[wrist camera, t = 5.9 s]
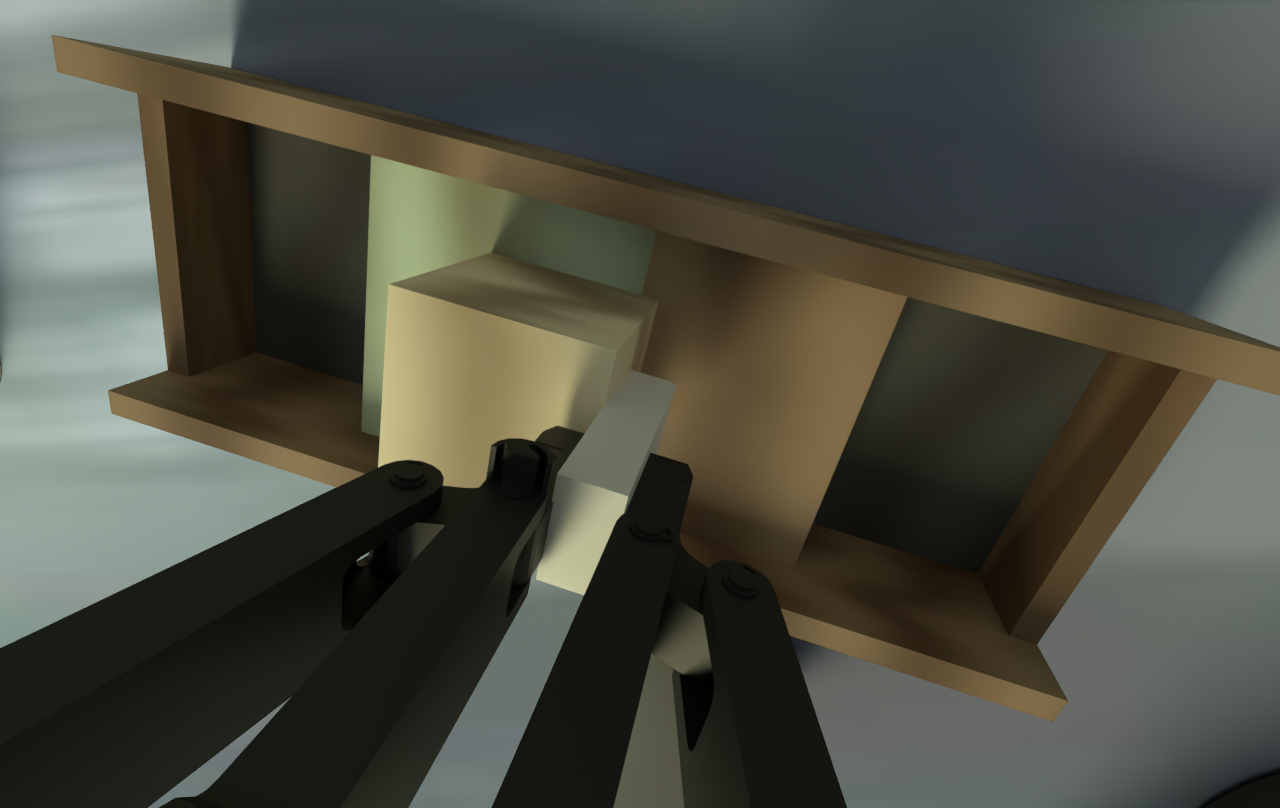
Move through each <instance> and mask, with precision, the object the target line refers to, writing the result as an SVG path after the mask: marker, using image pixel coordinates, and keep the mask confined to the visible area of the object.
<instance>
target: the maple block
mask: <svg viewBox="0 0 1280 808" xmlns="http://www.w3.org/2000/svg"><path fill="white" fill-rule="evenodd" d="M658 302H659V300H658V299H655V298H651V297H647V296H644V295H640V294H637V293H633V292H630V291H626V290H623V289H619V288H616V287H612V286H609V285H605V284H601V283H598V282H594V281H591V280H587V279H584V278H580V277H577V276H573V275H570V274H566V273H562V272H559V271H555V270H552V269H548V268H545V267H541V266H538V265H534V264H531V263H527V262H523V261H520V260H516V259H513V258H509V257H506V256H502V255H499V254H495V253H492V252H491V253H487V254H484V255H481V256H478V257H474V258H471V259H468V260H465V261H462V262H458V263H455V264H452V265H449V266H446V267H442V268H439V269H436V270H433V271H429V272H426V273H423V274H420V275H417V276H413V277H410V278H407V279H404V280H400V281H397V282H394V283H391V284H388V301H387V318H386V336H385V354H384V371H383V389H382V407H381V424H380V442H379V460H378V467H380V466H382V465H385V464H388V463H391V462H394V461H402V460H415V461H422V462H425V463H428V464H431V465H433V466H435V467H436V468H437V469H439V470H440V471H441V473H442V475H443V477H444V482H443V486H452V487H462V488H479V487H480V486H481V485H482V484H483V482H484V481H485V480H486V477H487V470H488V463H489V456H490V449H491V445H492V444H494V443H496V442H497V441H500V440H504V439H509V438H522V439H526V440H531V441H535V440H536V439H537V438H538V437H539V435H540V434H541V433H542V432H543V431H545V430H547V429H550V428H552V427H555V426H557V425H558V426H561V427H565V428H568V429H571V430H574V431H577V432H581V433H584V434H585V433H586V431H587V430H588V428H589V427H590V425H591V424H592V422H593V421H594V420H595V418H596V417H597V415H598V414H599V412H600V411H601V409H602V408H603V407H604V406H605V405H606V403H607V402H608V400H609V399H610V397H611V396H612V395H613V393H614V392H615V390H616V389H617V387H618V386H619V384H620V383H621V381H622V380H623V378H624V377H625V375H626V374H627V372H628V371H629V369H630V370H634V371H637V372H640V373H641V370H642V366H643V362H644V358H645V354H646V350H647V346H648V342H649V338H650V334H651V330H652V326H653V322H654V318H655V314H656V310H657V306H658Z"/></svg>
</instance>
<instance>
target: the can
mask: <svg viewBox="0 0 1280 808" xmlns="http://www.w3.org/2000/svg"><path fill="white" fill-rule="evenodd" d="M672 674H673V668H672V667H671V666H669V665H668V664H666V663H665V662H663V661H662V660H660V659H659V658H657V657H656V656H654V655H653V654H652V653H651V657H650V661H649V665H648V669H647V673H646V677H645V681H644V685H643V690H642V694H641V698H640V702H639V706H638V710H637V714H636V718H635V722H634V726H633V730H632V734H631V738H630V742H629V746H628V750H627V755H626V759H625V763H624V767H623V771H622V775H621V779H620V783H619V787H618V791H617V795H616V799H615V803H614V807H613V808H684V800H683V789H682V778H681V768H680V757H679V746H678V736H677V725H676V714H675V704H674V693H673V682H672Z"/></svg>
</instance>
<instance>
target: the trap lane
mask: <svg viewBox="0 0 1280 808" xmlns="http://www.w3.org/2000/svg"><path fill="white" fill-rule="evenodd" d="M52 41H53V47H54V54H55V60H56V66H57V72H60V73H64V74H67V75H71V76H75V77H79V78H83V79H86V80H90V81H94V82H98V83H101V84H105V85H109V86H113V87H117V88H120V89H124V90H128V91H132V92H135V93H137V95H138V104H139V113H140V122H141V131H142V140H143V149H144V158H145V167H146V176H147V185H148V194H149V203H150V212H151V220H152V229H153V238H154V247H155V256H156V265H157V274H158V283H159V292H160V301H161V310H162V319H163V328H164V337H165V346H166V355H167V364H168V371H165V372H162V373H159V374H156V375H153V376H150V377H147V378H144V379H141V380H138V381H135V382H132V383H129V384H126V385H123V386H120V387H117V388H114V389H111V390H108V394H109V400H110V406H111V413H112V414H115V415H118V416H121V417H124V418H127V419H130V420H133V421H136V422H139V423H142V424H145V425H148V426H151V427H154V428H157V429H160V430H164V431H167V432H170V433H173V434H176V435H179V436H182V437H185V438H188V439H191V440H194V441H197V442H200V443H203V444H206V445H209V446H212V447H215V448H218V449H222V450H225V451H228V452H231V453H234V454H237V455H240V456H243V457H246V458H249V459H252V460H255V461H258V462H261V463H264V464H267V465H270V466H273V467H276V468H280V469H283V470H286V471H289V472H292V473H295V474H298V475H301V476H304V477H307V478H310V479H313V480H316V481H319V482H322V483H325V484H328V485H331V486H334V487H339V486H341V485H343V484H345V483H347V482H349V481H351V480H353V479H355V478H357V477H360V476H362V475H364V474H366V473H368V472H370V471H372V470H374V469H376V468H378V460H379V442H380V424H381V407H382V389H383V371H384V354H385V336H386V318H387V301H388V284H391V283H394V282H397V281H400V280H404V279H407V278H410V277H413V276H417V275H420V274H423V273H426V272H429V271H433V270H436V269H439V268H442V267H446V266H449V265H452V264H455V263H458V262H462V261H465V260H468V259H471V258H474V257H478V256H481V255H484V254H487V253H491V252H492V253H495V254H499V255H502V256H506V257H509V258H513V259H516V260H520V261H523V262H527V263H531V264H534V265H538V266H541V267H545V268H548V269H552V270H555V271H559V272H562V273H566V274H570V275H573V276H577V277H580V278H584V279H587V280H591V281H594V282H598V283H601V284H605V285H609V286H612V287H616V288H619V289H623V290H626V291H630V292H633V293H637V294H640V295H644V296H647V297H651V298H655V299H658V300H659V302H658V306H657V310H656V314H655V318H654V322H653V326H652V330H651V334H650V338H649V342H648V346H647V350H646V354H645V358H644V362H643V366H642V370H641V373H644V374H647V375H651V376H654V377H657V378H661V379H664V380H668V381H671V382H674V383H677V384H676V388H675V391H674V395H673V399H672V402H671V406H670V409H669V413H668V416H667V420H666V424H665V427H664V431H663V434H662V438H661V442H660V445H659V449H658V452H657V455H660V456H663V457H667V458H670V459H673V460H676V461H680V462H683V463H686V464H688V465H689V467H690V470H691V472H692V474H693V480H692V484H691V488H690V493H689V497H688V501H687V505H686V509H685V513H684V517H683V521H682V525H681V529H680V540H681V543H682V545H683V547H684V548H685V550H686V551H687V552H688V553H689V554H690V555H691V556H692V557H693V558H695V559H696V560H698V561H699V562H701V563H702V564H704V565H706V566H707V567H709V568H710V567H711V566H712V565H713V563H716V562H719V561H722V560H734V561H738V562H742V563H745V564H748V565H750V566H752V567H753V568H755V569H757V570H759V571H760V572H761V573H762V574H763V575H764V576H765V577H767V578H768V579H769V581H770V583H771V584H772V586H773V588H774V590H775V593H776V596H777V599H778V602H779V605H780V608H781V611H782V614H783V617H784V620H785V623H786V626H787V629H788V632H789V635H790V636H792V637H795V638H798V639H802V640H805V641H808V642H811V643H814V644H817V645H820V646H823V647H826V648H829V649H832V650H835V651H838V652H841V653H844V654H847V655H850V656H853V657H856V658H860V659H863V660H866V661H869V662H872V663H875V664H878V665H881V666H884V667H887V668H890V669H893V670H896V671H899V672H902V673H905V674H908V675H911V676H914V677H918V678H921V679H924V680H927V681H930V682H933V683H936V684H939V685H942V686H945V687H948V688H951V689H954V690H957V691H960V692H963V693H966V694H969V695H972V696H976V697H979V698H982V699H985V700H988V701H991V702H994V703H997V704H1000V705H1003V706H1006V707H1009V708H1012V709H1015V710H1018V711H1021V712H1024V713H1027V714H1030V715H1034V716H1037V717H1040V718H1043V719H1046V720H1049V721H1052V722H1053V721H1054V719H1055V718H1056V717H1057V715H1058V714H1059V713H1060V711H1061V710H1062V709H1063V707H1064V706H1065V705H1066V703H1067V702H1068V700H1067V698H1066V696H1065V695H1064V693H1063V691H1062V689H1061V687H1060V686H1059V684H1058V682H1057V680H1056V678H1055V677H1054V675H1053V673H1052V671H1051V669H1050V668H1049V666H1048V664H1047V662H1046V660H1045V659H1044V657H1043V655H1042V653H1041V651H1040V650H1039V648H1038V646H1037V644H1038V642H1039V641H1040V639H1041V638H1042V636H1043V635H1044V633H1045V632H1046V630H1047V629H1048V627H1049V626H1050V624H1051V623H1052V621H1053V620H1054V619H1055V617H1056V616H1057V614H1058V613H1059V611H1060V610H1061V608H1062V607H1063V605H1064V604H1065V602H1066V601H1067V599H1068V598H1069V596H1070V595H1071V593H1072V592H1073V591H1074V589H1075V588H1076V586H1077V585H1078V583H1079V582H1080V580H1081V579H1082V577H1083V576H1084V574H1085V573H1086V571H1087V570H1088V568H1089V567H1090V566H1091V564H1092V563H1093V561H1094V560H1095V558H1096V557H1097V555H1098V554H1099V552H1100V551H1101V549H1102V548H1103V546H1104V545H1105V543H1106V542H1107V540H1108V539H1109V538H1110V536H1111V535H1112V533H1113V532H1114V530H1115V529H1116V527H1117V526H1118V524H1119V523H1120V521H1121V520H1122V518H1123V517H1124V515H1125V514H1126V513H1127V511H1128V510H1129V508H1130V507H1131V505H1132V504H1133V502H1134V501H1135V499H1136V498H1137V496H1138V495H1139V493H1140V492H1141V490H1142V489H1143V488H1144V486H1145V485H1146V483H1147V482H1148V480H1149V479H1150V477H1151V476H1152V474H1153V473H1154V471H1155V470H1156V468H1157V467H1158V465H1159V464H1160V462H1161V461H1162V460H1163V458H1164V457H1165V455H1166V454H1167V452H1168V451H1169V449H1170V448H1171V446H1172V445H1173V443H1174V442H1175V440H1176V439H1177V437H1178V436H1179V435H1180V433H1181V432H1182V430H1183V429H1184V427H1185V426H1186V424H1187V423H1188V421H1189V420H1190V418H1191V417H1192V415H1193V414H1194V412H1195V411H1196V410H1197V408H1198V407H1199V405H1200V404H1201V402H1202V401H1203V399H1204V398H1205V396H1206V395H1207V393H1208V392H1209V390H1210V389H1211V387H1212V386H1213V384H1214V383H1215V382H1216V380H1217V379H1220V380H1223V381H1227V382H1231V383H1235V384H1238V385H1242V386H1246V387H1250V388H1254V389H1257V390H1261V391H1265V392H1269V393H1272V394H1276V395H1280V348H1279V347H1277V346H1274V345H1271V344H1268V343H1265V342H1263V341H1260V340H1257V339H1254V338H1251V337H1248V336H1246V335H1243V334H1240V333H1237V332H1234V331H1232V330H1229V329H1226V328H1223V327H1220V326H1218V325H1215V324H1212V323H1209V322H1206V321H1204V320H1201V319H1198V318H1195V317H1192V316H1190V315H1187V314H1184V313H1181V312H1178V311H1175V310H1173V309H1170V308H1167V307H1164V306H1161V305H1158V304H1154V303H1150V302H1146V301H1142V300H1138V299H1134V298H1130V297H1126V296H1122V295H1118V294H1114V293H1111V292H1107V291H1103V290H1099V289H1095V288H1091V287H1087V286H1083V285H1079V284H1075V283H1071V282H1067V281H1064V280H1060V279H1056V278H1052V277H1048V276H1044V275H1040V274H1036V273H1032V272H1028V271H1024V270H1020V269H1017V268H1013V267H1009V266H1005V265H1001V264H997V263H993V262H989V261H985V260H981V259H977V258H973V257H970V256H966V255H962V254H958V253H954V252H950V251H946V250H942V249H938V248H934V247H930V246H926V245H923V244H919V243H915V242H911V241H907V240H903V239H899V238H895V237H891V236H887V235H883V234H879V233H876V232H872V231H868V230H864V229H860V228H856V227H852V226H848V225H844V224H840V223H836V222H832V221H829V220H825V219H821V218H817V217H813V216H809V215H805V214H801V213H797V212H793V211H789V210H785V209H782V208H778V207H774V206H770V205H766V204H762V203H758V202H754V201H750V200H746V199H742V198H738V197H735V196H731V195H727V194H723V193H719V192H715V191H711V190H707V189H703V188H699V187H695V186H691V185H688V184H684V183H680V182H676V181H672V180H668V179H664V178H660V177H656V176H652V175H648V174H645V173H641V172H637V171H633V170H629V169H625V168H621V167H617V166H613V165H609V164H605V163H601V162H598V161H594V160H590V159H586V158H582V157H578V156H574V155H570V154H566V153H562V152H558V151H554V150H551V149H547V148H543V147H539V146H535V145H531V144H527V143H523V142H519V141H515V140H511V139H507V138H504V137H500V136H496V135H492V134H488V133H484V132H480V131H476V130H472V129H468V128H464V127H460V126H457V125H453V124H449V123H445V122H441V121H437V120H433V119H429V118H425V117H421V116H417V115H413V114H410V113H406V112H402V111H398V110H394V109H390V108H386V107H382V106H378V105H374V104H370V103H366V102H363V101H359V100H355V99H351V98H347V97H343V96H339V95H335V94H331V93H327V92H323V91H319V90H316V89H312V88H308V87H304V86H300V85H296V84H292V83H288V82H284V81H280V80H276V79H272V78H269V77H265V76H261V75H257V74H253V73H249V72H245V71H241V70H237V69H233V68H229V67H224V66H218V65H213V64H207V63H202V62H196V61H191V60H185V59H180V58H174V57H169V56H164V55H158V54H153V53H147V52H142V51H136V50H131V49H125V48H120V47H114V46H109V45H103V44H98V43H92V42H87V41H81V40H76V39H71V38H65V37H60V36H54V35H52Z"/></svg>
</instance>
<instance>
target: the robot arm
mask: <svg viewBox="0 0 1280 808" xmlns="http://www.w3.org/2000/svg"><path fill="white" fill-rule="evenodd" d="M676 384H677V383H674V382H671V381H668V380H664V379H661V378H657V377H654V376H651V375H647V374H644V373H640V372H637V371H634V370H630V369H629V371H628V372H627V374H626V375H625V377H624V378H623V380H622V381H621V383H620V384H619V386H618V387H617V389H616V390H615V392H614V393H613V395H612V396H611V397H610V399H609V400H608V402H607V403H606V405H605V406H604V407H603V408H602V409H601V411H600V412H599V414H598V415H597V417H596V418H595V420H594V421H593V422H592V424H591V425H590V427H589V428H588V430H587V431H586V433H585V434H584V433H581V432H577V431H574V430H571V429H568V428H565V427H561V426H558V425H557V426H555V427H552V428H550V429H547V430H545V431H543V432H542V433H541V434H540V435H539V437H538V438H537V439H536V440H535V441H531V440H526V439H522V438H509V439H504V440H500V441H497V442H496V443H494V444H492V445H491V449H490V456H489V463H488V470H487V477H486V480H485V481H484V482H483V484H482V485H481V486H480V487H479V488H462V487H452V486H443V482H444V477H443V475H442V473H441V471H440V470H439V469H437V468H436V467H435V466H433V465H431V464H428V463H425V462H422V461H415V460H402V461H394V462H391V463H388V464H385V465H382V466H380V467H378V468H376V469H374V470H372V471H370V472H368V473H366V474H364V475H362V476H360V477H357V478H355V479H353V480H351V481H349V482H347V483H345V484H343V485H341V486H339V487H337V488H334V489H332V490H330V491H328V492H326V493H324V494H322V495H320V496H318V497H316V498H314V499H311V500H309V501H307V502H305V503H303V504H301V505H299V506H297V507H295V508H293V509H291V510H288V511H286V512H284V513H282V514H280V515H278V516H276V517H274V518H272V519H270V520H268V521H266V522H263V523H261V524H259V525H257V526H255V527H253V528H251V529H249V530H247V531H245V532H243V533H240V534H238V535H236V536H234V537H232V538H230V539H228V540H226V541H224V542H222V543H220V544H217V545H215V546H213V547H211V548H209V549H207V550H205V551H203V552H201V553H199V554H197V555H194V556H192V557H190V558H188V559H186V560H184V561H182V562H180V563H178V564H176V565H174V566H172V567H169V568H167V569H165V570H163V571H161V572H159V573H157V574H155V575H153V576H151V577H149V578H146V579H144V580H142V581H140V582H138V583H136V584H134V585H132V586H130V587H128V588H126V589H123V590H121V591H119V592H117V593H115V594H113V595H111V596H109V597H107V598H105V599H103V600H100V601H98V602H96V603H94V604H92V605H90V606H88V607H86V608H84V609H82V610H80V611H78V612H75V613H73V614H71V615H69V616H67V617H65V618H63V619H61V620H59V621H57V622H55V623H52V624H50V625H48V626H46V627H44V628H42V629H40V630H38V631H36V632H34V633H32V634H29V635H27V636H25V637H23V638H21V639H19V640H17V641H15V642H13V643H11V644H9V645H6V646H4V647H2V648H0V808H148V807H149V806H150V805H152V804H153V803H154V802H155V801H157V800H158V799H159V798H161V797H162V796H163V795H164V794H166V793H167V792H168V791H170V790H171V789H172V788H174V787H175V786H176V785H177V784H179V783H180V782H181V781H183V780H184V779H185V778H186V777H188V776H189V775H190V774H192V773H193V772H194V771H196V770H197V769H198V768H199V767H201V766H202V765H203V764H205V763H206V762H207V761H208V760H210V759H211V758H212V757H214V756H215V755H216V754H218V753H219V752H220V751H221V750H223V749H224V748H225V747H227V746H228V745H229V744H230V743H232V742H233V741H234V740H236V739H237V738H238V737H240V736H241V735H242V734H243V733H245V732H246V731H247V730H249V729H250V728H251V727H252V726H254V725H255V724H256V723H258V722H259V721H260V720H262V719H263V718H264V717H265V716H267V715H268V714H269V713H271V712H272V711H273V710H274V709H276V708H277V707H278V706H280V705H281V704H282V703H284V702H285V701H286V700H287V699H289V698H290V697H291V696H292V697H291V698H290V699H289V700H288V701H287V702H286V704H285V705H284V706H283V707H282V708H281V709H280V710H279V711H278V712H277V714H276V715H275V716H274V717H273V718H272V719H271V720H270V721H269V723H268V724H267V725H266V726H265V727H264V728H263V729H262V730H261V731H260V733H259V734H258V735H257V736H256V737H255V738H254V739H253V740H252V741H251V743H250V744H249V745H248V746H247V747H246V748H245V749H244V750H243V752H242V753H241V754H240V755H239V756H238V757H237V758H236V759H235V760H234V762H233V763H232V764H231V765H230V766H229V767H228V768H227V769H226V771H225V772H224V773H223V774H222V775H221V776H220V777H219V778H218V779H217V780H216V781H215V782H214V783H213V784H212V785H211V786H210V787H209V788H208V789H207V790H206V791H204V792H203V793H201V794H199V795H198V796H195V797H180V798H175V799H173V800H171V801H169V802H168V803H166V804H164V805H163V806H161V807H159V808H408V807H409V805H410V803H411V802H412V800H413V798H414V796H415V795H416V793H417V791H418V789H419V787H420V786H421V784H422V782H423V780H424V778H425V777H426V775H427V773H428V771H429V770H430V768H431V766H432V764H433V762H434V761H435V759H436V757H437V755H438V753H439V752H440V750H441V748H442V746H443V745H444V743H445V741H446V739H447V737H448V736H449V734H450V732H451V730H452V728H453V727H454V725H455V723H456V721H457V720H458V718H459V716H460V714H461V712H462V711H463V709H464V707H465V705H466V704H467V702H468V700H469V698H470V696H471V695H472V693H473V691H474V689H475V687H476V686H477V684H478V682H479V680H480V679H481V677H482V675H483V673H484V671H485V670H486V668H487V666H488V664H489V662H490V661H491V659H492V657H493V655H494V654H495V652H496V650H497V648H498V646H499V645H500V643H501V641H502V639H503V638H504V636H505V634H506V632H507V630H508V629H509V627H510V625H511V623H512V621H513V620H514V618H515V616H516V614H517V613H518V611H519V609H520V607H521V605H522V604H523V602H524V600H525V598H526V596H527V594H528V590H529V585H530V580H531V576H532V574H533V572H534V571H535V569H536V567H537V565H538V564H539V566H538V571H537V576H536V579H537V580H540V581H543V582H546V583H549V584H552V585H554V586H557V587H560V588H563V589H566V590H569V591H572V592H575V593H578V594H581V595H584V597H583V599H582V601H581V604H580V606H579V608H578V610H577V613H576V615H575V617H574V620H573V622H572V624H571V627H570V629H569V631H568V633H567V636H566V638H565V640H564V643H563V645H562V647H561V649H560V652H559V654H558V656H557V659H556V661H555V663H554V666H553V668H552V670H551V672H550V675H549V677H548V679H547V682H546V684H545V686H544V689H543V691H542V693H541V695H540V698H539V700H538V702H537V705H536V707H535V709H534V712H533V714H532V716H531V718H530V721H529V723H528V725H527V728H526V730H525V732H524V734H523V737H522V739H521V741H520V744H519V746H518V748H517V751H516V753H515V755H514V757H513V760H512V762H511V764H510V767H509V769H508V771H507V774H506V776H505V778H504V780H503V783H502V785H501V787H500V790H499V792H498V794H497V797H496V799H495V801H494V803H493V806H492V808H613V807H614V803H615V799H616V795H617V791H618V787H619V783H620V779H621V775H622V771H623V767H624V763H625V759H626V755H627V750H628V746H629V742H630V738H631V734H632V730H633V726H634V722H635V718H636V714H637V710H638V706H639V702H640V698H641V694H642V690H643V685H644V681H645V677H646V673H647V669H648V665H649V661H650V657H651V653H652V654H653V655H654V656H656V657H657V658H659V659H660V660H662V661H663V662H665V663H666V664H668V665H669V666H671V667H672V668H673V674H672V682H673V693H674V704H675V714H676V725H677V736H678V746H679V757H680V768H681V778H682V789H683V800H684V808H847V806H846V803H845V800H844V797H843V794H842V791H841V788H840V785H839V782H838V779H837V776H836V773H835V770H834V767H833V764H832V761H831V758H830V755H829V752H828V749H827V746H826V743H825V740H824V737H823V734H822V731H821V728H820V725H819V722H818V719H817V716H816V713H815V710H814V707H813V704H812V701H811V698H810V695H809V692H808V689H807V686H806V683H805V680H804V677H803V674H802V671H801V668H800V665H799V662H798V659H797V656H796V653H795V650H794V647H793V644H792V641H791V638H790V635H789V632H788V629H787V626H786V623H785V620H784V617H783V614H782V611H781V608H780V605H779V602H778V599H777V596H776V593H775V590H774V588H773V586H772V584H771V583H770V581H769V579H768V578H767V577H765V576H764V575H763V574H762V573H761V572H760V571H759V570H757V569H755V568H753V567H752V566H750V565H748V564H745V563H742V562H738V561H734V560H722V561H719V562H716V563H713V565H712V566H711V567H710V568H709V567H707V566H706V565H704V564H702V563H701V562H699V561H698V560H696V559H695V558H693V557H692V556H691V555H690V554H689V553H688V552H687V551H686V550H685V548H684V547H683V545H682V543H681V540H680V529H681V525H682V521H683V517H684V513H685V509H686V505H687V501H688V497H689V493H690V488H691V484H692V480H693V474H692V472H691V470H690V467H689V465H688V464H686V463H683V462H680V461H676V460H673V459H670V458H667V457H663V456H660V455H657V452H658V449H659V445H660V442H661V438H662V434H663V431H664V427H665V424H666V420H667V416H668V413H669V409H670V406H671V402H672V399H673V395H674V391H675V388H676ZM368 552H369V555H368V556H366V557H364V558H363V559H361V560H359V561H356V560H358V559H359V558H360V557H361V556H363V555H365V554H366V553H368ZM1205 808H1280V773H1279V774H1276V775H1272V776H1269V777H1266V778H1263V779H1260V780H1258V781H1255V782H1252V783H1250V784H1247V785H1245V786H1243V787H1240V788H1238V789H1236V790H1234V791H1232V792H1230V793H1228V794H1226V795H1224V796H1222V797H1221V798H1219V799H1217V800H1216V801H1214V802H1212V803H1211V804H1209V805H1208V806H1206V807H1205Z"/></svg>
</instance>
